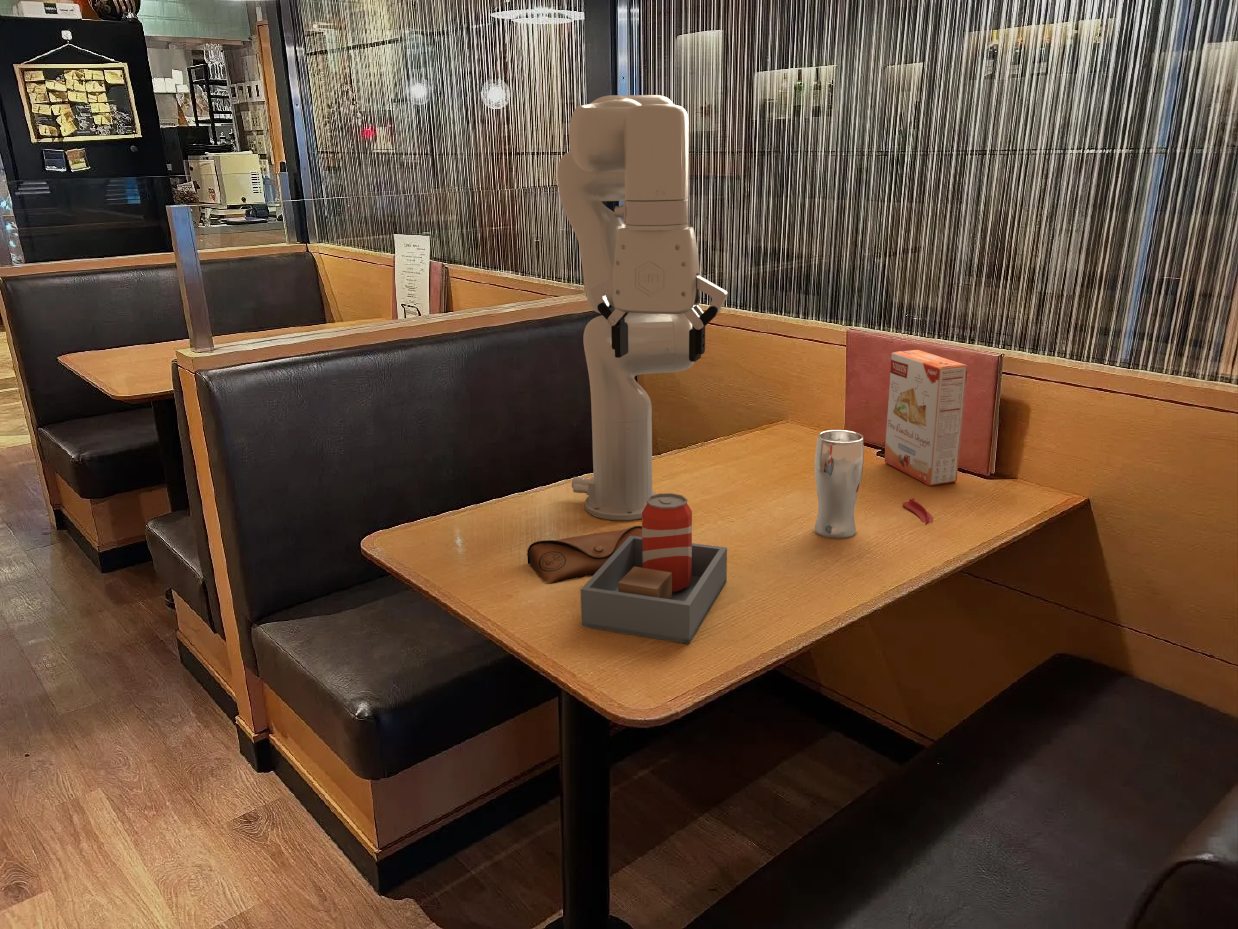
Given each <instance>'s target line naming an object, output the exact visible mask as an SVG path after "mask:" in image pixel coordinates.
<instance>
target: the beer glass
mask: <svg viewBox="0 0 1238 929" xmlns="http://www.w3.org/2000/svg"><path fill="white" fill-rule="evenodd" d="M816 440H817V441H816V445H815V446H816V447H815V453H814V454H815V455H814V479H815V487H816V493H817V495H816V496H817V506H818V507H817V509H818V510H817V514H816V515H817V516H816V521H815V525H814V532H815V533H816V534H817V535H819V536H820V535H821V536H820V537H823V536H824V537H823V538H827V539H832V538H833V539H836V540H844V539H849V538H851V536H852V537H853V536H855V535H856V533H857V528H856V527H857V526H856V522H855V521H856V520H855V510H856V509H855V508H856V502H857V498H858V495H859V494H858V493H859V490H860V487H861V482H862V477H863V472H864V435H863V434H861V433H859V432H855V431H851V430H842V429H830V430H824V431H822V432H819V433H818V434H817V439H816ZM854 534H855V535H854ZM843 538H844V539H843Z"/></svg>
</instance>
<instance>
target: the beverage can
mask: <svg viewBox="0 0 1238 929" xmlns="http://www.w3.org/2000/svg"><path fill="white" fill-rule="evenodd" d="M646 502H647V505H646V506H645V508H644V510H643V512H642V518H641V523H642V524H641V526H642V548H643V568H647V569H653V570H659V571H665V572H671V573H672V593H676V592H678V591H681V590H683V589H684V588H686V587H688V586H689V584H690V582H691V580H692V543H693V539H692V538H693V537H692V536H693V534H692V533H693V532H692V531H693V528H692V527H693V510H692V509H691V508H690V505H689V504H688V498H686V497H685V496H684V495H682V494H679V493H678V494H676V493H671V492H668V493H666V492H665V493H664V492H663V493H656V495H653V496H650V497H649V498H648V499H647V500H646Z"/></svg>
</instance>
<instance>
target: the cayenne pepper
mask: <svg viewBox="0 0 1238 929" xmlns="http://www.w3.org/2000/svg"><path fill="white" fill-rule="evenodd" d="M902 507H903V508H904V509H905V510H907V511H909V512H911V513H912V514H914V515H915V516H916V517H918V518H919V519H920V521H921V522H922V523H923V524H924V526H926V525H928V524H932V523H933V521H934V518H933V516H932V514H931V513H930V512H929V511H927V510H926V508H925V506H923V505H922V504H921V503H919V502H917V501H916V500H915V498H908V500H907V501H903V503H902Z"/></svg>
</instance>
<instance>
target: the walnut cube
mask: <svg viewBox="0 0 1238 929" xmlns="http://www.w3.org/2000/svg"><path fill="white" fill-rule="evenodd" d="M618 592H623V593H630V594H637V595H644V596H651V597H657V598H664V599H671V600H672V573H671V572H665V571H659V570H653V569H647V568H641V567H635V566H634V567H633V568H632V569H631V570H630V571H629V572H628V573H627V574H626V575H625V576H624V577H623V578H622V579H621V580H620V581H619V582H618Z"/></svg>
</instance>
